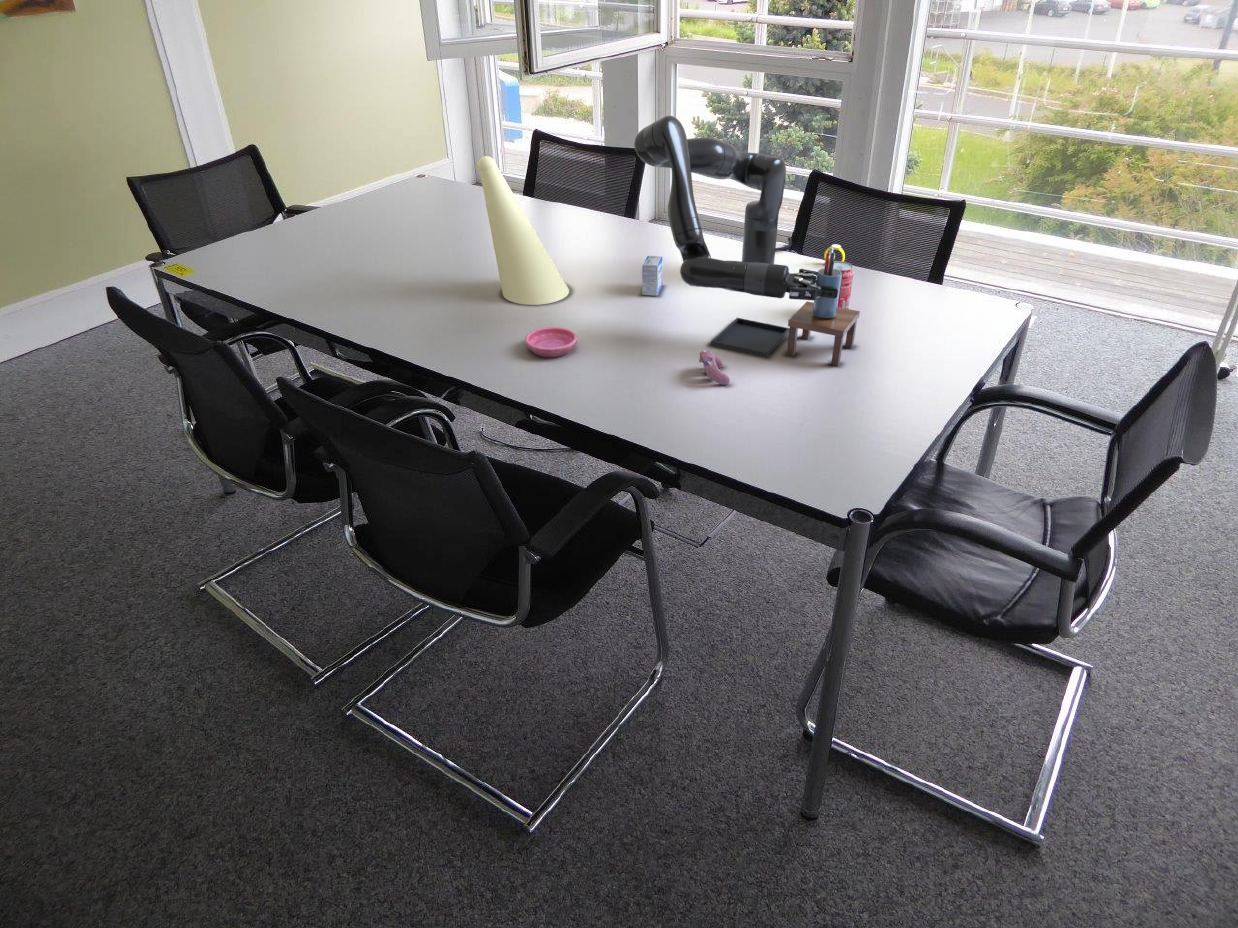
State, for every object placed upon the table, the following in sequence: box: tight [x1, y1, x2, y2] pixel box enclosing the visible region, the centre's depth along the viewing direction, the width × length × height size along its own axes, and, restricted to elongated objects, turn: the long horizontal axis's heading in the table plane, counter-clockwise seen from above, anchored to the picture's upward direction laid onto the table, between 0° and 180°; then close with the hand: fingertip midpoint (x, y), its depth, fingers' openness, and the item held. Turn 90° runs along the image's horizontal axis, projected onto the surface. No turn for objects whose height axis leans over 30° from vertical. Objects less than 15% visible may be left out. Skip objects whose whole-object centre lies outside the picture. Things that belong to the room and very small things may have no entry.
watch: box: [823, 243, 846, 262], centre depth 254 cm, size 6×3×6 cm, turn 53°
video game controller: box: [698, 348, 731, 386], centre depth 195 cm, size 10×5×7 cm, turn 5°
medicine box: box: [641, 255, 663, 297], centre depth 238 cm, size 8×4×9 cm, turn 168°
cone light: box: [477, 155, 570, 306], centre depth 232 cm, size 25×18×35 cm
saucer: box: [524, 326, 578, 358], centre depth 208 cm, size 12×12×3 cm
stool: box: [786, 300, 861, 367], centre depth 205 cm, size 13×13×9 cm
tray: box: [710, 317, 789, 358], centre depth 213 cm, size 16×14×1 cm
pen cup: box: [813, 246, 842, 318], centre depth 198 cm, size 5×5×16 cm
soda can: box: [833, 260, 854, 309], centre depth 222 cm, size 7×7×13 cm
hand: (839, 288), depth 198 cm, fingers closed on pen cup, 5 cm apart
